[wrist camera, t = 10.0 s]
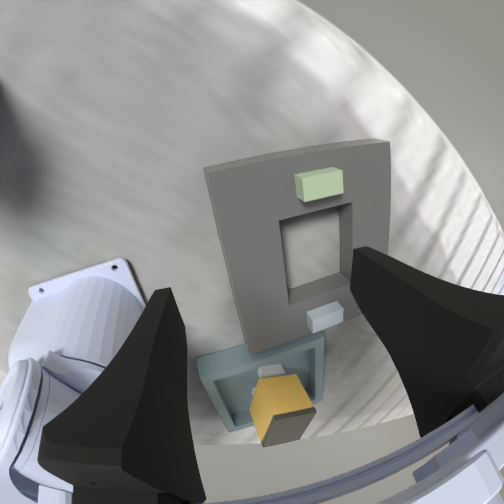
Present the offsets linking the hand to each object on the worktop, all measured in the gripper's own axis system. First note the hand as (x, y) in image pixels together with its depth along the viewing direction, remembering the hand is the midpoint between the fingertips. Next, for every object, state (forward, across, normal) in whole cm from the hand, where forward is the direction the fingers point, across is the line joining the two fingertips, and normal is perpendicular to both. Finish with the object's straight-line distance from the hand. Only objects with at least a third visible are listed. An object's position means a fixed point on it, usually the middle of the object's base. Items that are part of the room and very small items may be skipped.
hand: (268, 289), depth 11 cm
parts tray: (+10, 0, +20) cm, 22 cm away
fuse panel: (+11, -6, +5) cm, 13 cm away
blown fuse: (+9, 0, +20) cm, 22 cm away
